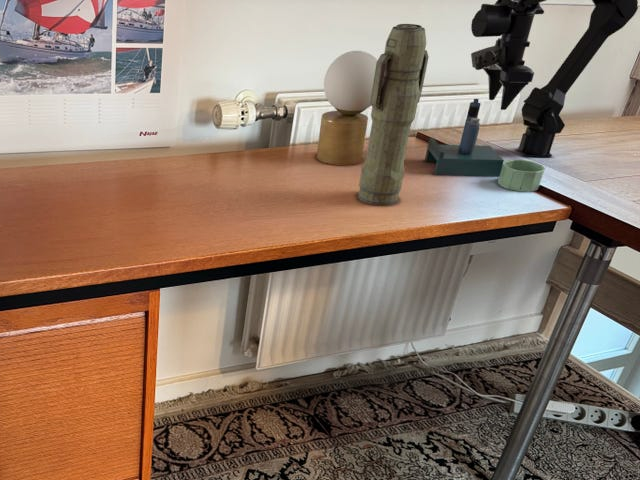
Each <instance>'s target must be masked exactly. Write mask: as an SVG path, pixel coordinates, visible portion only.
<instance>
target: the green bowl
mask: <svg viewBox="0 0 640 480" xmlns="http://www.w3.org/2000/svg"><path fill="white" fill-rule="evenodd" d="M545 169H546V167H545V166H544V165H543V164H541V163H537V162H535V161H530V160H525V159H510V160H509V159H508V160H504V162H503V165H502V169H501V173H500V176H498V180H497V184H498V185H499V186H500V187H502V188H505V189H506V190H511V191H516V192H527V193H530V192H536V191H538V189H539V188H540V185H541V183H542V180H543V176H544V173H545Z"/></svg>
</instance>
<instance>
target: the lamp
mask: <svg viewBox="0 0 640 480" xmlns="http://www.w3.org/2000/svg"><path fill="white" fill-rule="evenodd" d="M377 61H378V58H376V57H375V56H374V55H373V54H371V53H369V52H367V51H363V50H350V51H347V52H344V53H342V54H341V55H339V56H338V57H336V58H335V59H333V61H332V62H331V63H330V65H329V67H328V68H327V70H326V73H325V75H324V78H323V91H324V96H325V97H326V100H327V101H328V103H329V104H330V105H331V106H332V107H333V108H334V109H335V110H331V111H326V112H324V113H322V114H321V118H320V127H319V135H318V142H317V150H316V151H317V152H316V159H317V160H318V161H320V162H322V163H325V164H327V165H328V164H329V165H334V166H351V165H356V164H360V162H361V161H362V159H363V152H364V147H365V141H366V135H367V130H368V129H367V127H368V123H369V117H368V116H367V115H366V114H365V113H363V112H365V111H366V110H367V109H369V108H370V107H372V106H371V104H370V100H371V94H372V88H373V82H374V76H375V69H376V63H377Z"/></svg>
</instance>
